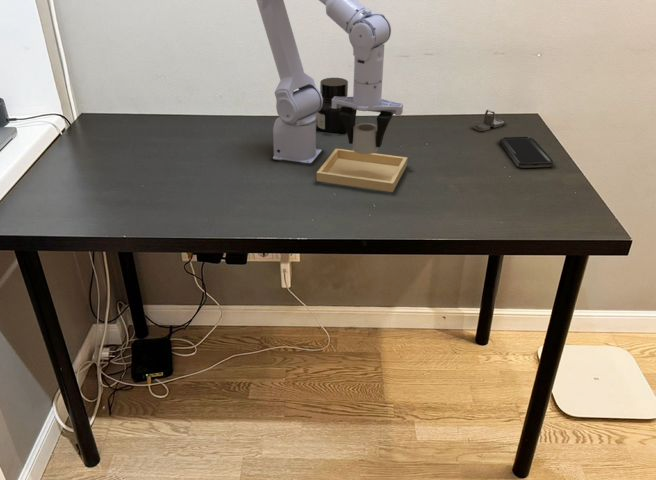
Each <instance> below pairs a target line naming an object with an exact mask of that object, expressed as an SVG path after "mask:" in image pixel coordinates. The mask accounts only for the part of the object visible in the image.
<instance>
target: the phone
mask: <svg viewBox="0 0 656 480" xmlns="http://www.w3.org/2000/svg"><path fill="white" fill-rule="evenodd" d="M499 145H500V146H501V147H502V148H503V150H504V151H505V153H506V154H507V155H508V156H509V158H510V159H511V160H512V162H513V163H514V164H515V166H516V167H518V168H520V169H534V168H536V169H539V168H540V169H541V168H551V167H553V162H554V161H553V159H552V158H551V157H550V155H549V154H548V153H546V151H545V150H544V149H543V148H542V147H541V146H540V145H539V143H538V142H537V141H536V140H535V139H534V138H533V137H532V136H509V137H508V136H507V137H500V139H499Z"/></svg>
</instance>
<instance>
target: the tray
mask: <svg viewBox="0 0 656 480" xmlns="http://www.w3.org/2000/svg"><path fill="white" fill-rule="evenodd" d="M407 167H408V157H407V156H399V155H391V154H384V153H377V152H375V153H372V154H359V153H356V152H354V151H353V149H343V148H337V147H336V148H335V149H334V150H333V151H332V153H331V154H330V155H329V157H327V159H326V160H325V161H324V163H323V164H322V165H321V166H320V167H319V169H318V170H317V171H316V182H319V183H327V184H333V185H341V186H346V187H353V188H359V189H360V188H361V189H365V190H366V189H367V190H373V191H379V192H380V191H381V192H387V193H394V191H395V189H396V187H397V185H398V184H399V181H400V179H401V178H402V176H403V174H404V173H405V170H406V169H407Z"/></svg>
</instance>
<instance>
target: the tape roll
mask: <svg viewBox="0 0 656 480" xmlns="http://www.w3.org/2000/svg"><path fill="white" fill-rule="evenodd" d="M376 141H377V124H375V123H371V122H370V123H369V122H361V123H357V124H355V126H354V127H353V143H352V144H351V145H352V147H351V150H353V151H354V152H356V153H359V154H372V153H377V152H378V150H379V147H376Z"/></svg>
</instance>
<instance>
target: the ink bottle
mask: <svg viewBox="0 0 656 480" xmlns="http://www.w3.org/2000/svg"><path fill="white" fill-rule="evenodd" d="M319 87H320V88H319V91H320V93H321V95H322V99H323V105H322V108H321V109H320V111H318V112H317V117H316V130H317V131H319V132H320V133H327V134H335V135H337V134H344V133H347V131H346V128H345V126H344V124H343V122H342V120H341V118H340V115H339V113H340V112H341V108H337V109H334V108H332V99H333V98H334V97H335V96H336V97H349V95H348V93H349V92H348V91H349V80H347V79H346V78H342V77H326V78H323V79H321V80H320V82H319Z"/></svg>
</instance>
